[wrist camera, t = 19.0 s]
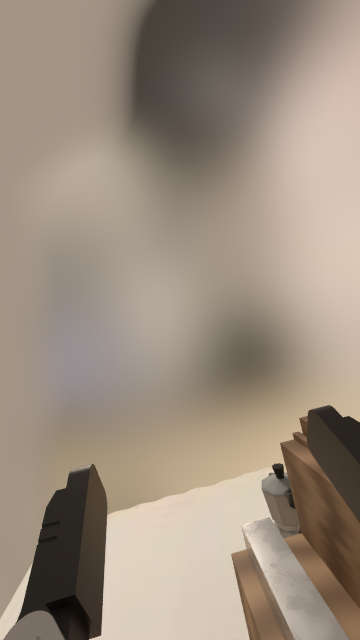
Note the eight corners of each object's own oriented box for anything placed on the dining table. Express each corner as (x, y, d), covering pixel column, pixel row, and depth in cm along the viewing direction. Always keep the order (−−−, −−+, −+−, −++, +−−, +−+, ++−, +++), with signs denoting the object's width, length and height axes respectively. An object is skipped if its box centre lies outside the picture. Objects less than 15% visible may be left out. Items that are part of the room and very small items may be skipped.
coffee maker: (265, 541, 64) (247, 459, 66) (302, 529, 65) (283, 449, 67) (300, 599, 50) (275, 491, 51) (347, 582, 51) (321, 478, 52)
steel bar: (549, 1007, 10) (519, 898, 11) (463, 1051, 10) (434, 937, 10) (276, 548, 34) (269, 517, 35) (248, 556, 34) (241, 525, 34)
